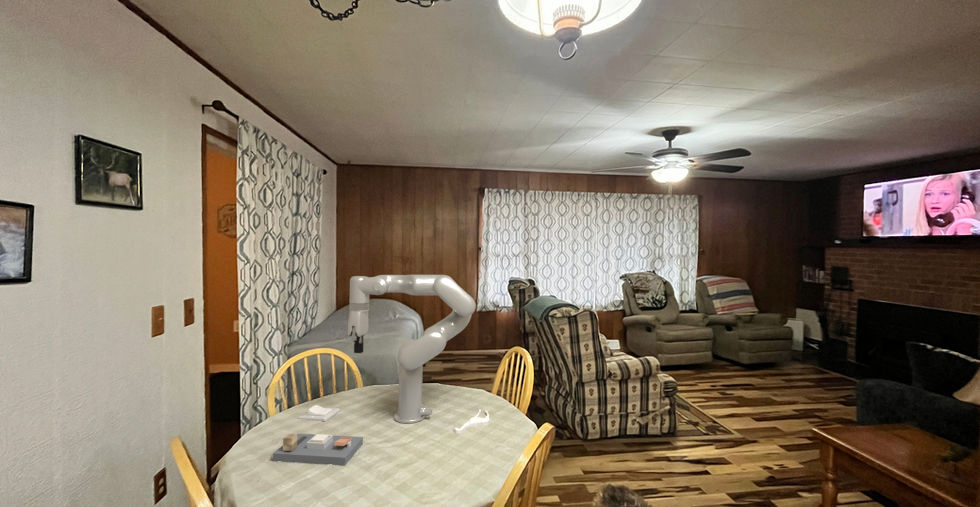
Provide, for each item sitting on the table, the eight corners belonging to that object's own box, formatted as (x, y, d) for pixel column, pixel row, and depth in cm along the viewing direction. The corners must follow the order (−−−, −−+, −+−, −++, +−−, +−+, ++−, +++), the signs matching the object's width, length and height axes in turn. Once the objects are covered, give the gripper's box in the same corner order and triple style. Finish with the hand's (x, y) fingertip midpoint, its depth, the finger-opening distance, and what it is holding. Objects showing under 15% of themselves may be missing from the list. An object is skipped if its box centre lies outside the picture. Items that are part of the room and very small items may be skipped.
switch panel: (362, 444, 138) (363, 431, 138) (344, 465, 124) (345, 451, 124) (297, 440, 140) (297, 427, 140) (272, 461, 126) (272, 447, 126)
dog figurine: (462, 408, 168) (451, 429, 148) (492, 410, 166) (485, 431, 146) (461, 412, 168) (451, 434, 148) (492, 414, 166) (485, 436, 146)
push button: (328, 441, 134) (328, 434, 134) (322, 447, 130) (322, 440, 130) (317, 441, 135) (317, 434, 135) (311, 446, 131) (311, 439, 131)
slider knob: (297, 446, 130) (297, 434, 130) (291, 450, 127) (292, 438, 127) (288, 445, 131) (288, 433, 131) (283, 450, 128) (283, 438, 128)
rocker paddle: (351, 442, 134) (351, 436, 135) (343, 447, 129) (344, 441, 129) (342, 442, 135) (342, 436, 135) (334, 446, 129) (334, 440, 129)
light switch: (313, 401, 169) (340, 402, 167) (313, 411, 169) (340, 412, 167) (296, 411, 159) (324, 412, 156) (296, 422, 159) (325, 423, 156)
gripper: (358, 304, 166) (357, 347, 166) (341, 309, 151) (341, 357, 151) (375, 304, 165) (374, 348, 165) (360, 309, 150) (360, 357, 150)
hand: (358, 352), depth 158 cm, fingers closed
